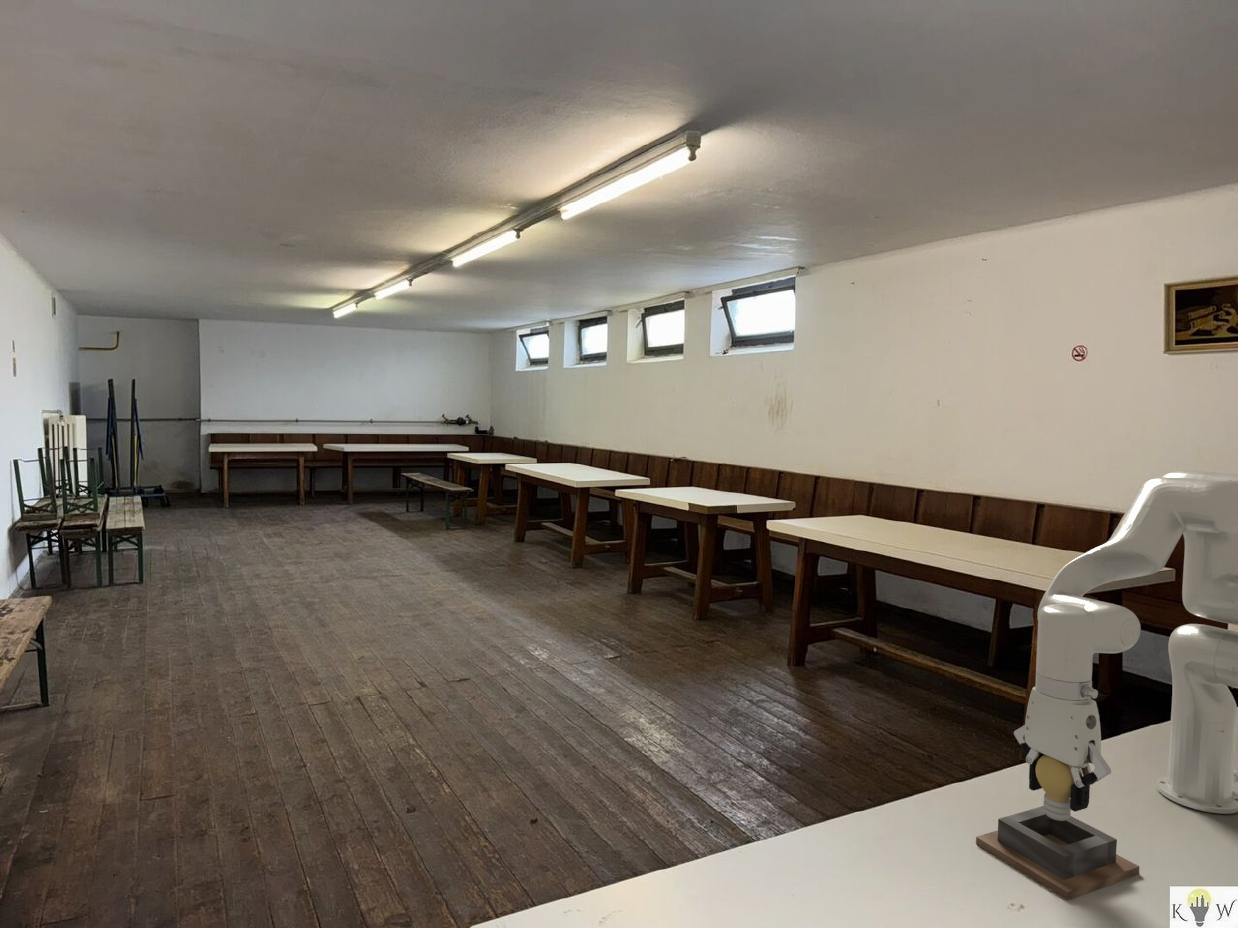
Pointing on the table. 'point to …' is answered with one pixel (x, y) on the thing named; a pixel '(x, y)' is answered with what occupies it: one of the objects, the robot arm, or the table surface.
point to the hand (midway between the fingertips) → (1057, 797)
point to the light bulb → (1055, 787)
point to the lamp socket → (1058, 852)
